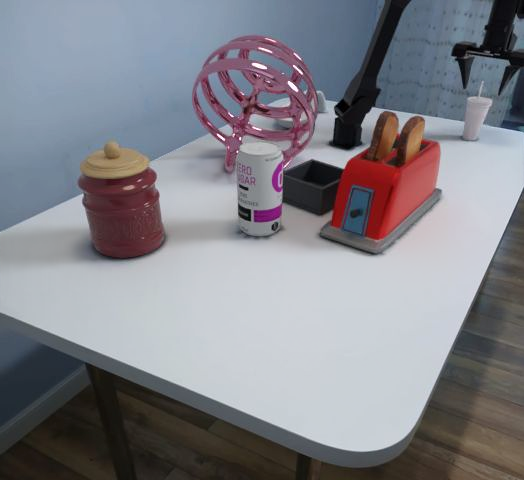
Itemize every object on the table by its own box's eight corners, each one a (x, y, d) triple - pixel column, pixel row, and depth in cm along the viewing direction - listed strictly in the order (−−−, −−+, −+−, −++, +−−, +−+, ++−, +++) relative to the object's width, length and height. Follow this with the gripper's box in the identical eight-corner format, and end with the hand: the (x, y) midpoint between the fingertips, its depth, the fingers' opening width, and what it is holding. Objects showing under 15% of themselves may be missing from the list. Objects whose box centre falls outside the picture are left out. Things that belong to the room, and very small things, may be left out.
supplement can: (286, 221, 96) (289, 142, 87) (273, 241, 90) (274, 158, 81) (247, 215, 98) (246, 137, 89) (232, 234, 92) (228, 152, 83)
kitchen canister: (163, 222, 96) (150, 126, 84) (168, 255, 86) (154, 153, 75) (94, 228, 94) (71, 131, 82) (91, 263, 84) (64, 159, 73)
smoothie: (453, 134, 136) (467, 78, 127) (476, 134, 137) (491, 77, 128) (462, 142, 132) (477, 84, 122) (485, 141, 132) (502, 83, 123)
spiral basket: (261, 105, 87) (302, -13, 94) (147, 122, 102) (189, 19, 108) (318, 198, 111) (348, 99, 117) (218, 201, 125) (250, 112, 131)
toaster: (378, 257, 86) (398, 146, 74) (315, 236, 92) (324, 130, 80) (443, 195, 106) (467, 100, 94) (388, 181, 112) (404, 89, 99)
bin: (276, 198, 104) (277, 173, 101) (310, 182, 111) (312, 158, 107) (320, 215, 99) (322, 189, 95) (353, 197, 105) (356, 172, 102)
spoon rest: (302, 135, 135) (304, 107, 130) (265, 129, 140) (265, 101, 135) (336, 113, 151) (338, 87, 146) (301, 108, 155) (303, 82, 150)
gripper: (554, 20, 116) (530, 92, 126) (477, 12, 126) (461, 80, 136) (537, 25, 110) (513, 101, 120) (458, 16, 119) (442, 88, 130)
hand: (481, 92), depth 127 cm, fingers open, 9 cm apart
